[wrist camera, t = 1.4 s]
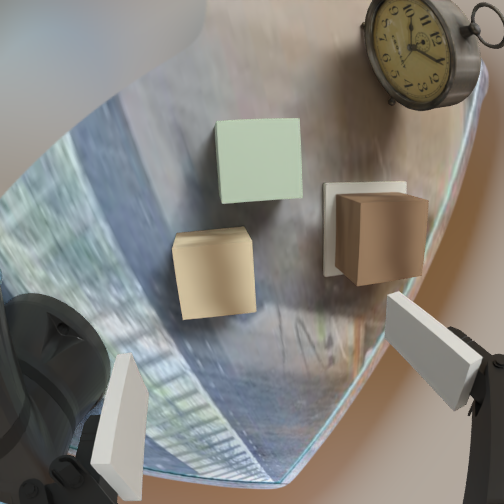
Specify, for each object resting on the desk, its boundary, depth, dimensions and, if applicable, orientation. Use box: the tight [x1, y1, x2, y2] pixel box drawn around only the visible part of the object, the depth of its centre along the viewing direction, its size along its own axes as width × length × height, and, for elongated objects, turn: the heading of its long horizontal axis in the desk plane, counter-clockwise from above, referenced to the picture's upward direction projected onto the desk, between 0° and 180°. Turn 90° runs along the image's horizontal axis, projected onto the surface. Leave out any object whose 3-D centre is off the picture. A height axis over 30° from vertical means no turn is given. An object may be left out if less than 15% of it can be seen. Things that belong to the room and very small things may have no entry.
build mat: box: [323, 181, 406, 277], centre depth 30 cm, size 9×9×1 cm
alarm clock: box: [362, 0, 504, 111], centre depth 18 cm, size 11×5×16 cm, turn 18°
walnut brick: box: [335, 192, 429, 286], centre depth 28 cm, size 7×7×5 cm
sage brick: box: [214, 118, 303, 204], centre depth 25 cm, size 6×6×5 cm
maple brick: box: [172, 226, 256, 320], centre depth 27 cm, size 6×6×5 cm
